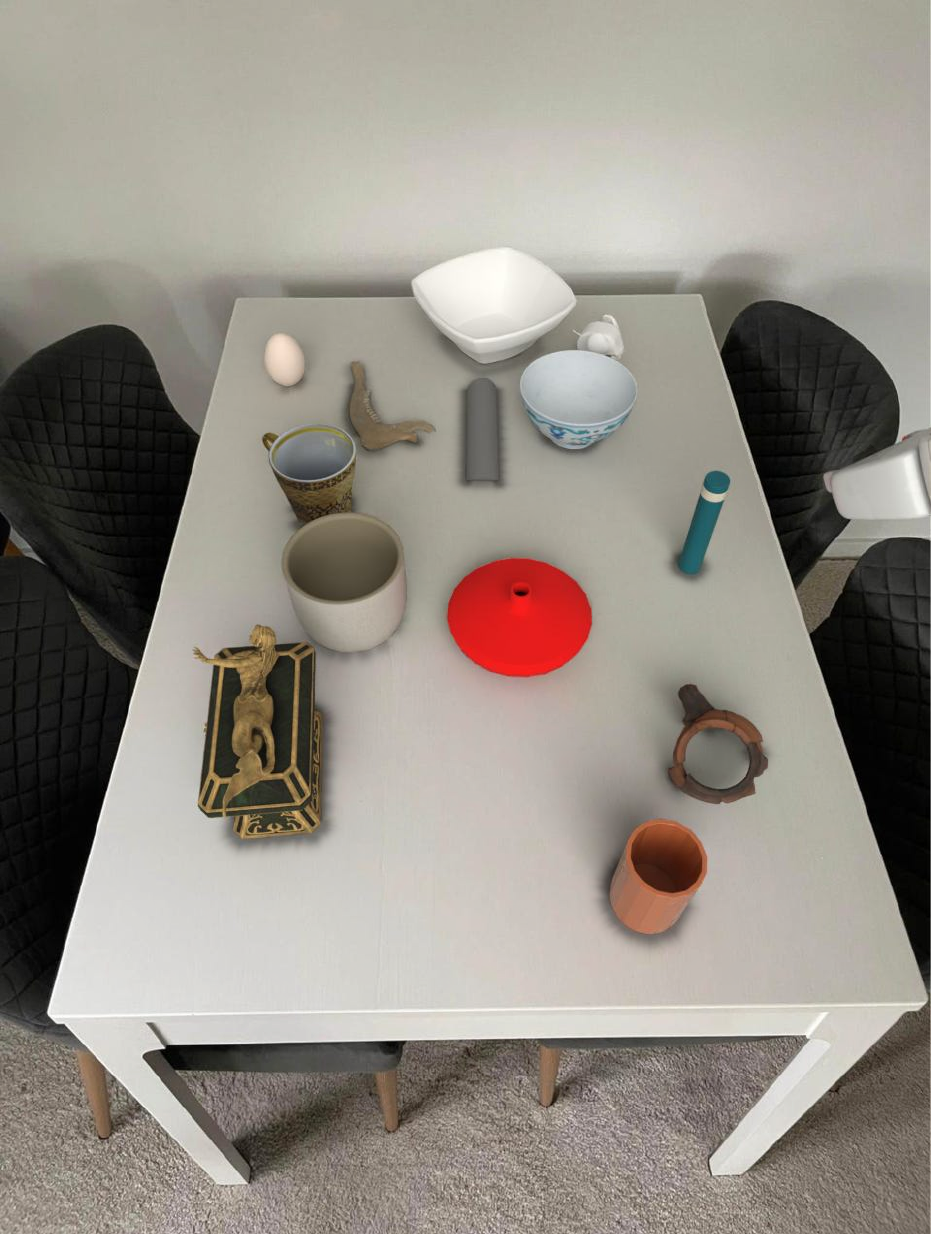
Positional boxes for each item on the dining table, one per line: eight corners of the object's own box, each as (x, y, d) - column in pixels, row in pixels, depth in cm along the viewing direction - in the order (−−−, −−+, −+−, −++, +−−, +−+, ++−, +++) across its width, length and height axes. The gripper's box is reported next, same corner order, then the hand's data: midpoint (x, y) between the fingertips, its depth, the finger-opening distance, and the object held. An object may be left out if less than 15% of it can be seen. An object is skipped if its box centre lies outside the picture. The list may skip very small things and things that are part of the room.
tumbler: (693, 887, 74) (720, 846, 66) (662, 948, 71) (686, 913, 63) (629, 849, 76) (648, 805, 68) (596, 907, 73) (612, 868, 65)
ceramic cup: (380, 504, 103) (373, 443, 95) (330, 554, 98) (317, 494, 90) (301, 465, 107) (287, 403, 99) (249, 511, 102) (230, 450, 94)
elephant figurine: (614, 379, 118) (620, 343, 113) (562, 365, 120) (566, 329, 115) (629, 353, 121) (635, 317, 116) (578, 339, 123) (582, 304, 118)
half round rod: (465, 485, 105) (465, 475, 103) (467, 388, 116) (467, 377, 115) (499, 485, 105) (499, 475, 103) (497, 388, 116) (497, 377, 115)
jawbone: (382, 470, 107) (379, 459, 106) (304, 392, 117) (300, 381, 116) (438, 438, 110) (436, 426, 108) (357, 364, 120) (354, 352, 118)
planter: (361, 560, 97) (351, 494, 89) (433, 620, 92) (429, 556, 83) (276, 619, 92) (256, 555, 84) (347, 686, 87) (333, 626, 78)
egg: (271, 372, 119) (260, 323, 113) (309, 370, 119) (300, 322, 113) (268, 396, 116) (256, 348, 109) (307, 394, 116) (298, 346, 109)
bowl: (397, 330, 125) (393, 278, 118) (509, 288, 131) (511, 237, 124) (470, 404, 114) (470, 351, 108) (588, 355, 121) (595, 302, 114)
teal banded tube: (704, 563, 97) (735, 476, 86) (695, 578, 96) (725, 491, 84) (683, 553, 98) (711, 466, 87) (673, 568, 96) (700, 481, 85)
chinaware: (628, 475, 106) (638, 428, 100) (512, 466, 107) (515, 419, 101) (628, 400, 115) (637, 353, 108) (521, 393, 116) (524, 346, 110)
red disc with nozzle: (461, 566, 97) (461, 525, 91) (595, 584, 95) (603, 544, 89) (434, 677, 88) (431, 639, 82) (581, 700, 86) (589, 663, 80)
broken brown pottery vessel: (784, 774, 81) (791, 774, 73) (700, 821, 83) (698, 826, 75) (715, 671, 85) (715, 661, 77) (636, 717, 86) (628, 713, 78)
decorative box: (236, 702, 86) (184, 584, 70) (329, 695, 86) (297, 576, 70) (219, 893, 74) (151, 803, 58) (327, 884, 74) (288, 792, 59)
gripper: (1111, 354, 61) (944, 389, 74) (919, 445, 55) (773, 466, 68) (1127, 435, 62) (960, 456, 75) (941, 533, 56) (794, 537, 69)
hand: (870, 461), depth 71 cm, fingers open, 8 cm apart
